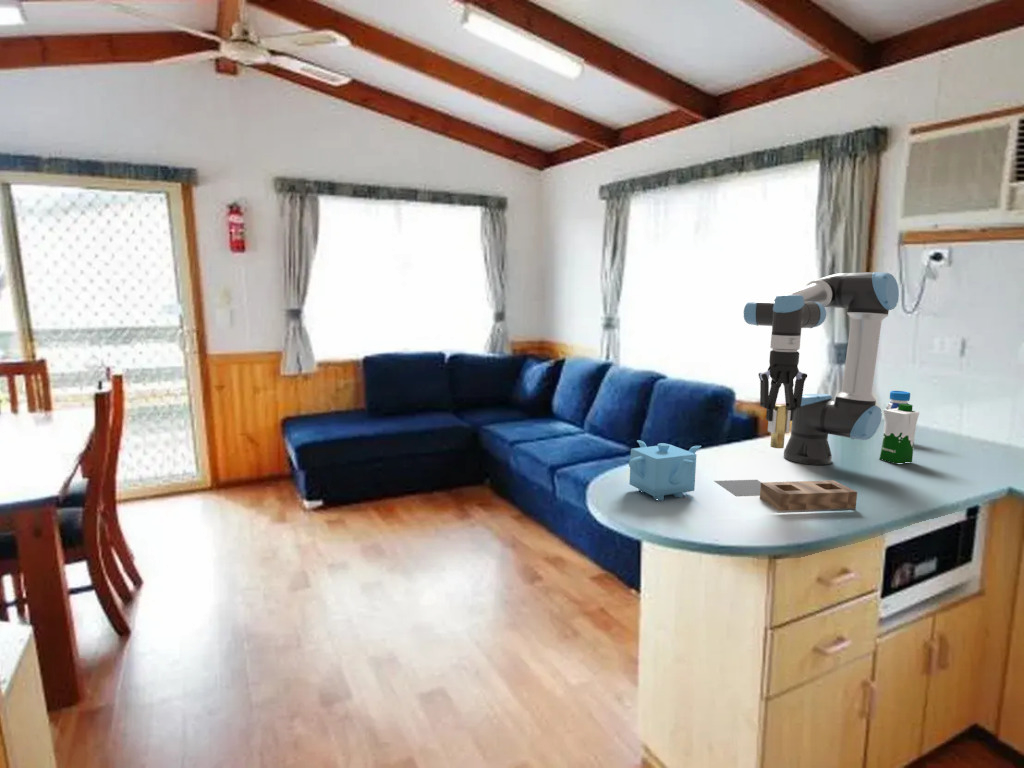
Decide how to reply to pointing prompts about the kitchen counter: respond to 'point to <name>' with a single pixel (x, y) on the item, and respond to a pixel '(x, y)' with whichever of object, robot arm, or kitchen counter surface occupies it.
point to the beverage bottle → (898, 399)
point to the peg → (779, 427)
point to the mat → (742, 487)
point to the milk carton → (899, 434)
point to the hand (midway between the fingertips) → (778, 431)
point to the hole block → (808, 495)
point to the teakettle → (663, 469)
